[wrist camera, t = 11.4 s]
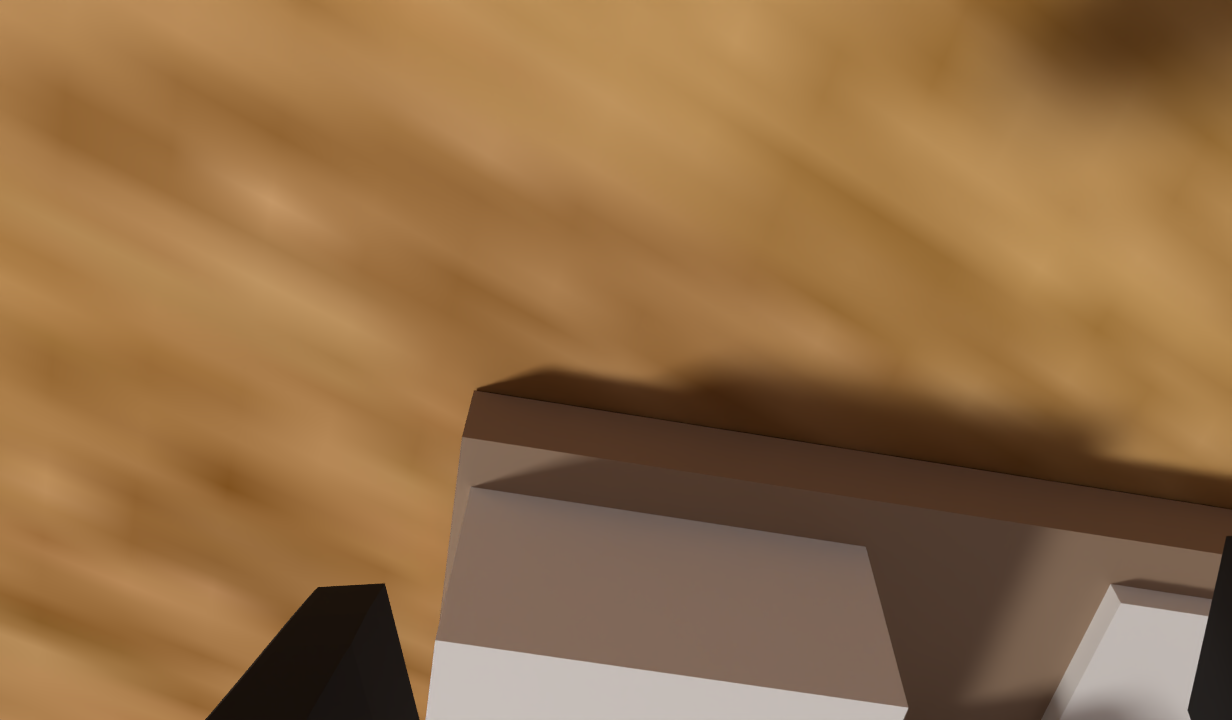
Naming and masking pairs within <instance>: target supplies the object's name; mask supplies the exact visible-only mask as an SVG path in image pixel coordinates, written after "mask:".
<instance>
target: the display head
mask: <svg viewBox="0 0 1232 720" xmlns="http://www.w3.org/2000/svg"><path fill="white" fill-rule="evenodd" d="M1226 536H1232V510H1231V509H1225V508H1218V507H1212V506H1206V505H1199V504H1193V503H1187V502H1180V501H1174V500H1168V499H1161V498H1155V497H1148V496H1142V495H1136V494H1129V493H1123V492H1117V491H1110V490H1104V489H1098V488H1091V487H1085V486H1079V485H1072V484H1066V483H1059V482H1053V481H1047V480H1040V479H1034V478H1028V477H1021V476H1015V475H1009V474H1002V473H996V472H990V471H983V470H977V469H970V468H964V467H958V466H951V465H945V464H939V463H932V462H926V461H920V460H913V459H907V458H901V457H894V456H888V455H881V454H875V453H869V452H862V451H856V450H850V449H843V448H837V447H831V446H824V445H818V444H812V443H805V442H799V441H792V440H786V439H780V438H773V437H767V436H761V435H754V434H748V433H742V432H735V431H729V430H723V429H716V428H710V427H703V426H697V425H691V424H684V423H678V422H672V421H665V420H659V419H653V418H646V417H640V416H634V415H627V414H621V413H614V412H608V411H602V410H595V409H589V408H583V407H576V406H570V405H564V404H557V403H551V402H545V401H538V400H532V399H525V398H519V397H513V396H506V395H500V394H494V393H487V392H481V391H475V390H474V393H473V397H472V401H471V405H470V409H469V412H468V416H467V420H466V424H465V428H464V432H463V436H462V442H461V450H460V459H459V467H458V475H457V483H456V491H455V499H454V508H453V516H452V524H451V532H450V540H449V548H448V557H447V565H446V573H445V581H444V589H443V597H442V606H441V614H440V622H439V626H438V631H437V635H436V639H435V647H434V655H433V664H432V672H431V680H430V688H429V697H428V705H427V713H426V720H1191V719H1190V716H1189V713H1188V711H1187V710H1188V705H1189V701H1190V696H1191V692H1192V687H1193V683H1194V678H1195V674H1196V670H1197V665H1198V661H1199V656H1200V652H1201V647H1202V643H1203V638H1204V634H1205V629H1206V625H1207V620H1208V616H1209V611H1210V607H1211V602H1212V598H1213V593H1214V589H1215V584H1216V580H1217V576H1218V571H1219V567H1220V562H1221V558H1222V553H1223V549H1224V544H1225V540H1226Z"/></svg>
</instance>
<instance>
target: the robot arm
mask: <svg viewBox="0 0 1232 720" xmlns="http://www.w3.org/2000/svg"><path fill="white" fill-rule="evenodd" d="M1187 711H1188V713H1189V716H1190V719H1191V720H1232V536H1226V540H1225V544H1224V549H1223V553H1222V558H1221V562H1220V567H1219V571H1218V576H1217V580H1216V584H1215V589H1214V593H1213V598H1212V602H1211V607H1210V611H1209V616H1208V620H1207V625H1206V629H1205V634H1204V638H1203V643H1202V647H1201V652H1200V656H1199V661H1198V665H1197V670H1196V674H1195V678H1194V683H1193V687H1192V692H1191V696H1190V701H1189V705H1188V710H1187ZM205 720H419V716H418V712H417V709H416V705H415V701H414V697H413V693H412V689H411V685H410V681H409V677H408V673H407V669H406V665H405V661H404V657H403V653H402V649H401V645H400V642H399V638H398V634H397V630H396V626H395V622H394V618H393V614H392V610H391V606H390V602H389V598H388V594H387V590H386V586H385V583H384V584H366V585H348V586H331V587H318V588H317V589H316V590H315V591H314V592H313V593H312V594H311V595H310V596H309V597H308V599H307V600H306V601H305V602H304V603H303V604H302V606H301V607H300V608H299V609H298V610H297V611H296V612H295V614H294V615H293V616H292V617H291V618H290V619H289V621H288V622H287V623H286V624H285V625H284V627H283V628H282V629H281V630H280V631H279V633H278V634H277V635H276V636H275V637H274V639H273V640H272V641H271V642H270V643H269V645H268V646H267V647H266V648H265V649H264V651H263V652H262V653H261V654H260V655H259V657H258V658H257V659H256V660H255V661H254V663H253V664H252V665H251V666H250V667H249V669H248V670H247V671H246V672H245V673H244V675H243V676H242V677H241V678H240V679H239V680H238V682H237V683H236V684H235V685H234V686H233V688H232V689H231V690H230V691H229V692H228V694H227V695H226V696H225V697H224V698H223V699H222V701H221V702H220V703H219V704H218V705H217V707H216V708H215V709H214V710H213V711H212V712H211V714H210V715H209V716H208V717H207V718H206V719H205Z"/></svg>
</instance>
